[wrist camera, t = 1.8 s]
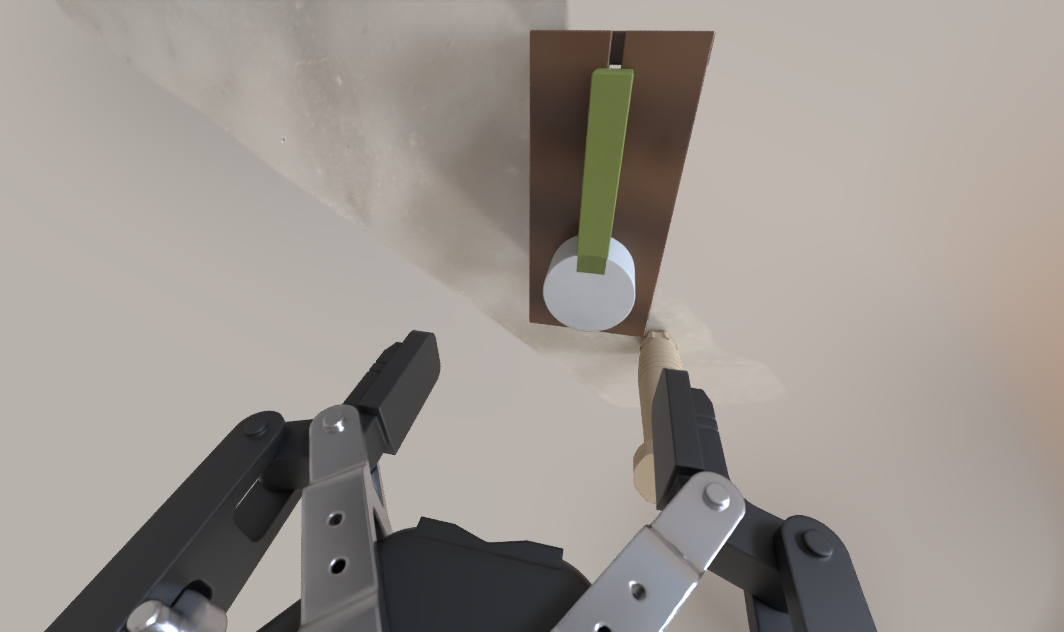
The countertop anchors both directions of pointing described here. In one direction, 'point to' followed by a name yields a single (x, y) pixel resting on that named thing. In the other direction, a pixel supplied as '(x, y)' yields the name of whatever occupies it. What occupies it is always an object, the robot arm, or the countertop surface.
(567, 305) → the green handled white cylinder
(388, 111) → the countertop surface
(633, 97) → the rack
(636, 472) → the handle
